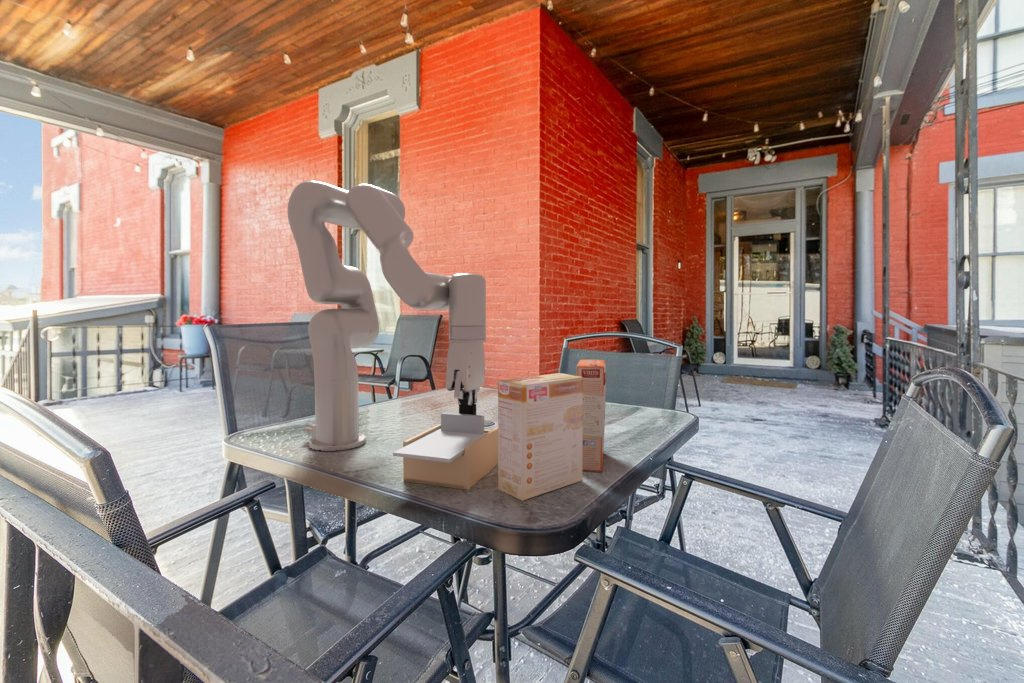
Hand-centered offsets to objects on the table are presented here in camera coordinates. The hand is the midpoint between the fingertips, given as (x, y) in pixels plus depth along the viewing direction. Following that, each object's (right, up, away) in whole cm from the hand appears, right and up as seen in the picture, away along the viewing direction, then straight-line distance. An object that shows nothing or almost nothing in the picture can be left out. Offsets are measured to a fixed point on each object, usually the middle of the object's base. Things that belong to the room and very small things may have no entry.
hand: (467, 423), depth 97 cm
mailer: (-2, -8, -4) cm, 10 cm away
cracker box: (+26, -8, +1) cm, 27 cm away
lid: (-3, -2, -10) cm, 11 cm away
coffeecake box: (+14, -9, -13) cm, 21 cm away
